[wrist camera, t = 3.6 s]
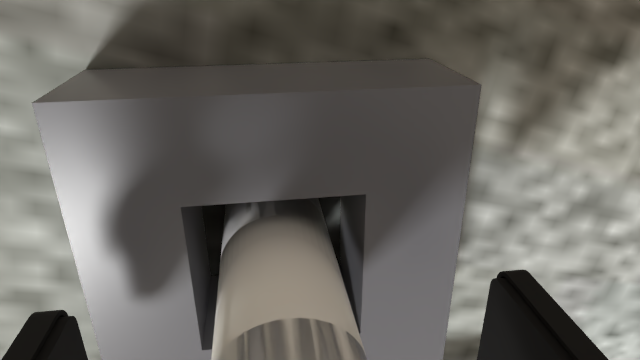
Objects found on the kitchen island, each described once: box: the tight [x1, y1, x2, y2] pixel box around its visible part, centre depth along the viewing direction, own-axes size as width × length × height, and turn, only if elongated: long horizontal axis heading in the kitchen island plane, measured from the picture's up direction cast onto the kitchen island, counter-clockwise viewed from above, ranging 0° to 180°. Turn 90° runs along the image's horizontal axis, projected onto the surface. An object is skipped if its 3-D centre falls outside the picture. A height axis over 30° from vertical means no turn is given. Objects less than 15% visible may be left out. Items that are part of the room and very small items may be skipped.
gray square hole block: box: [32, 59, 481, 360], centre depth 14 cm, size 10×10×4 cm
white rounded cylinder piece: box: [211, 198, 367, 360], centre depth 11 cm, size 3×3×10 cm
